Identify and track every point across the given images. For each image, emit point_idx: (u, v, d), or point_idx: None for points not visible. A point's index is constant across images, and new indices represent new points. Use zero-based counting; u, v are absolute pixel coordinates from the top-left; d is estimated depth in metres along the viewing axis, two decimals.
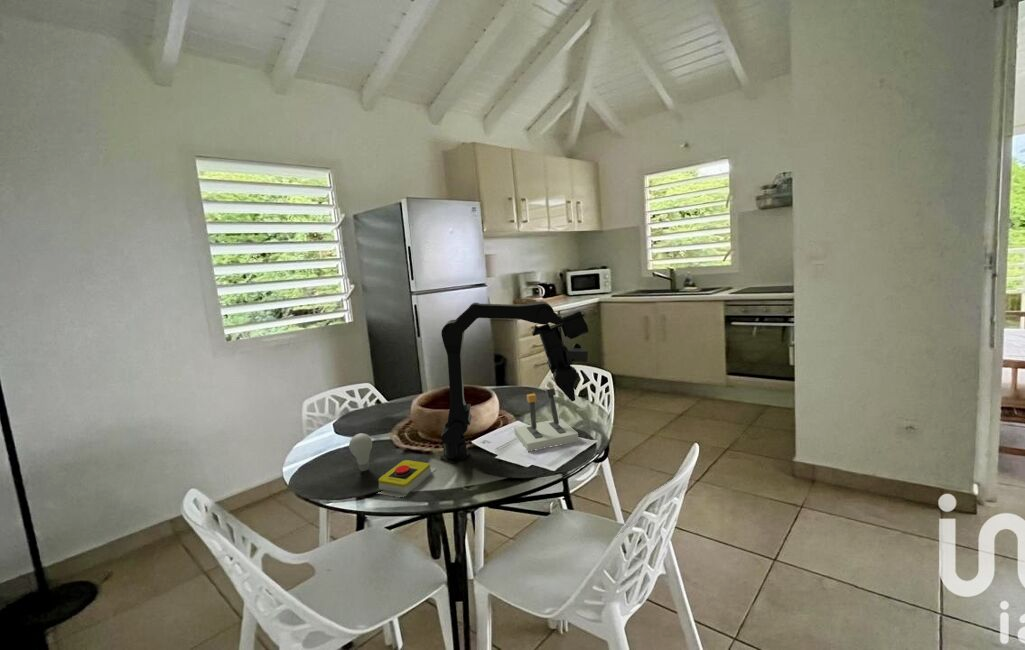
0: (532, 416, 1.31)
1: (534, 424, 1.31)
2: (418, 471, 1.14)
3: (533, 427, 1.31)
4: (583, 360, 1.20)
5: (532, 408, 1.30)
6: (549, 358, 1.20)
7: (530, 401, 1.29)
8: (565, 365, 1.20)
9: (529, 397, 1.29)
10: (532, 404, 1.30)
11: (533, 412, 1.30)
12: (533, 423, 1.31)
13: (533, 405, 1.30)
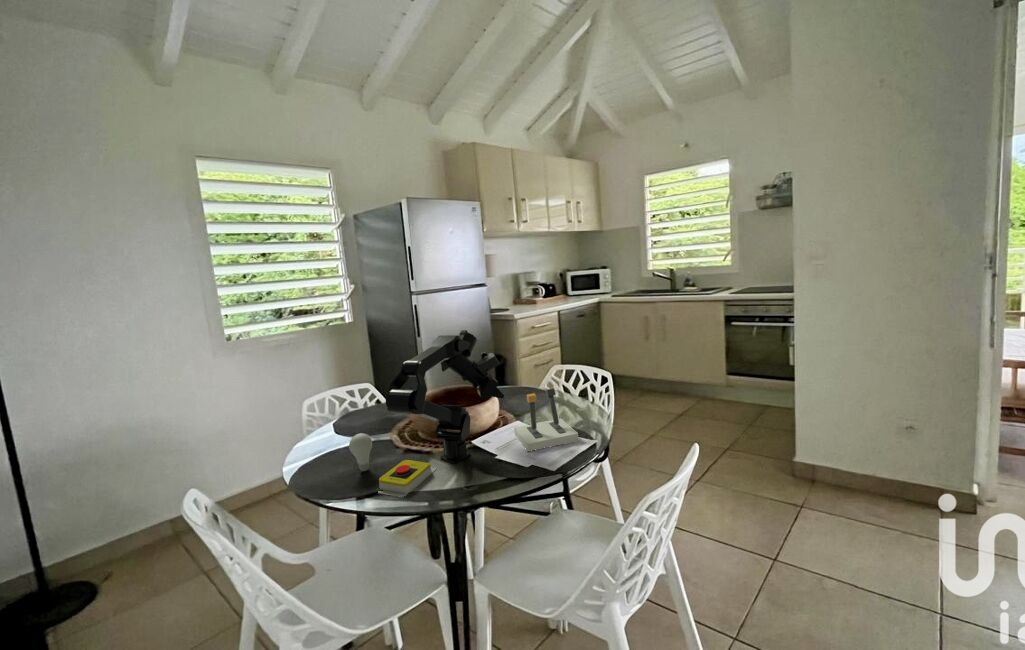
0: (532, 416, 1.31)
1: (534, 424, 1.31)
2: (419, 471, 1.14)
3: (533, 427, 1.31)
4: (495, 365, 1.29)
5: (532, 408, 1.30)
6: (467, 380, 1.28)
7: (530, 401, 1.29)
8: (483, 378, 1.28)
9: (529, 397, 1.29)
10: (532, 404, 1.30)
11: (533, 412, 1.30)
12: (533, 423, 1.31)
13: (533, 405, 1.30)
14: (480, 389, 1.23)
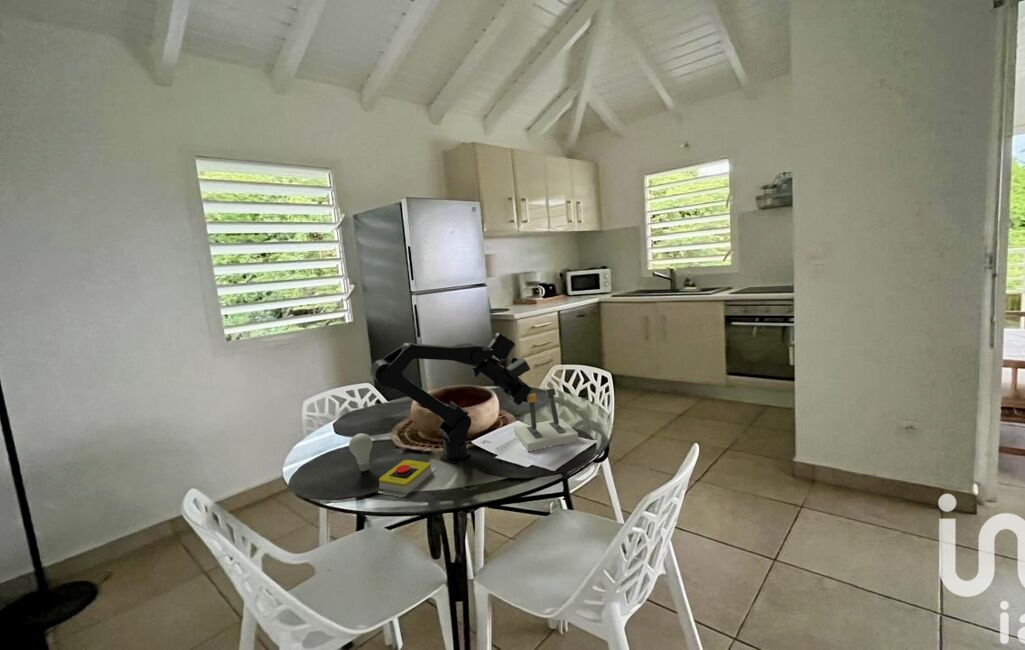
0: (532, 416, 1.30)
1: (534, 424, 1.31)
2: (419, 471, 1.14)
3: (533, 427, 1.31)
4: (526, 370, 1.29)
5: (532, 408, 1.30)
6: (498, 386, 1.28)
7: (530, 401, 1.29)
8: (515, 383, 1.29)
9: (529, 397, 1.29)
10: (532, 404, 1.30)
11: (533, 412, 1.30)
12: (533, 423, 1.31)
13: (533, 405, 1.30)
14: (513, 394, 1.24)
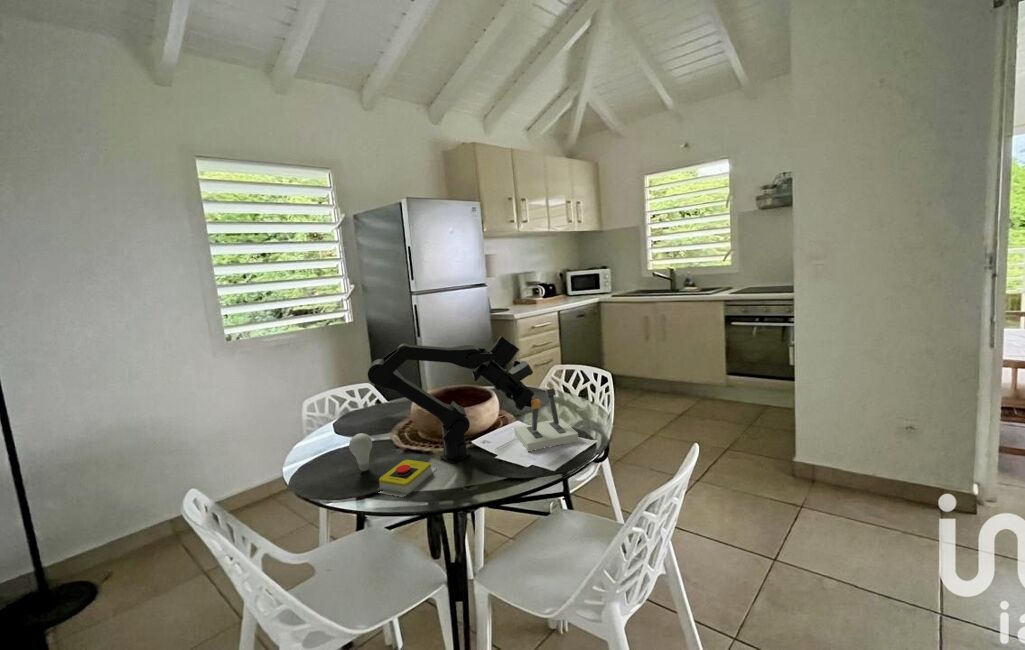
0: (534, 420, 1.29)
1: (535, 426, 1.30)
2: (419, 471, 1.14)
3: (534, 429, 1.31)
4: (529, 373, 1.26)
5: (535, 413, 1.28)
6: (500, 390, 1.25)
7: (534, 408, 1.26)
8: (517, 387, 1.25)
9: (533, 404, 1.26)
10: (536, 410, 1.27)
11: (536, 416, 1.28)
12: (534, 425, 1.30)
13: (536, 411, 1.27)
14: (515, 399, 1.20)
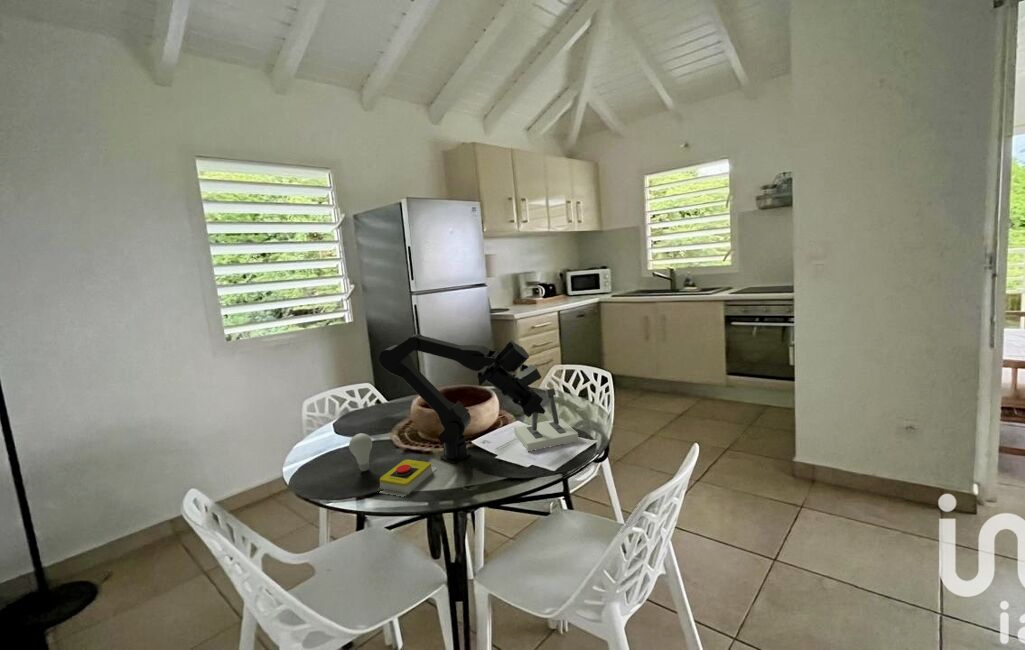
0: (534, 420, 1.29)
1: (535, 426, 1.30)
2: (419, 471, 1.14)
3: (534, 429, 1.31)
4: (537, 378, 1.20)
5: (535, 413, 1.28)
6: (507, 395, 1.19)
7: None
8: (525, 392, 1.19)
9: None
10: None
11: (535, 416, 1.28)
12: (534, 425, 1.30)
13: None
14: (523, 405, 1.14)
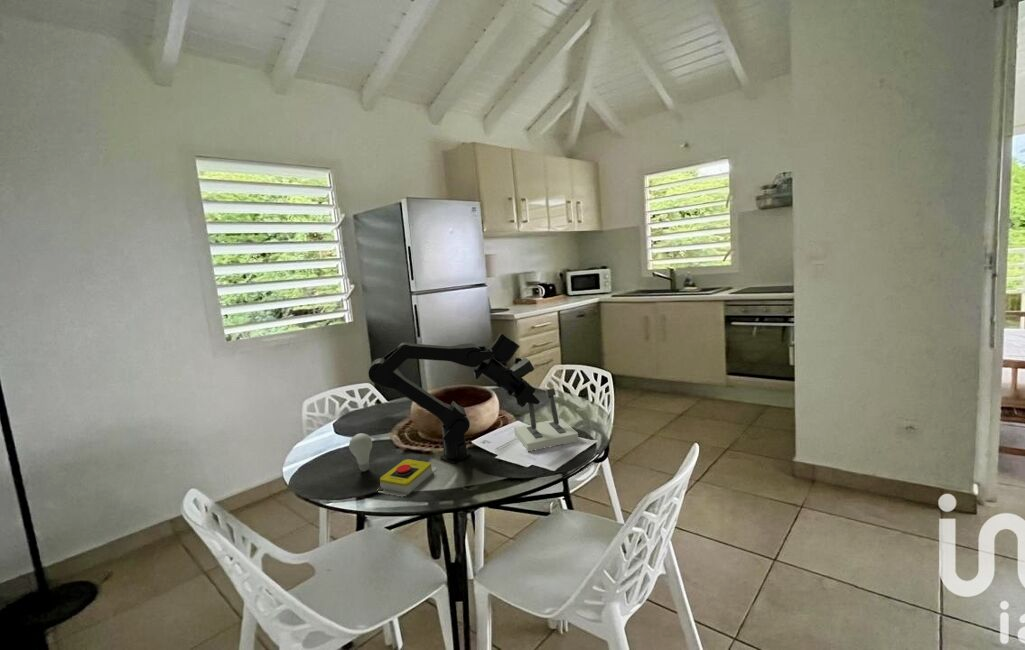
0: (531, 415, 1.31)
1: (534, 423, 1.31)
2: (419, 471, 1.14)
3: (533, 426, 1.31)
4: (530, 370, 1.25)
5: (531, 407, 1.31)
6: (502, 387, 1.25)
7: None
8: (518, 384, 1.25)
9: None
10: (531, 403, 1.31)
11: (532, 411, 1.31)
12: (533, 422, 1.31)
13: (532, 404, 1.31)
14: (516, 396, 1.20)
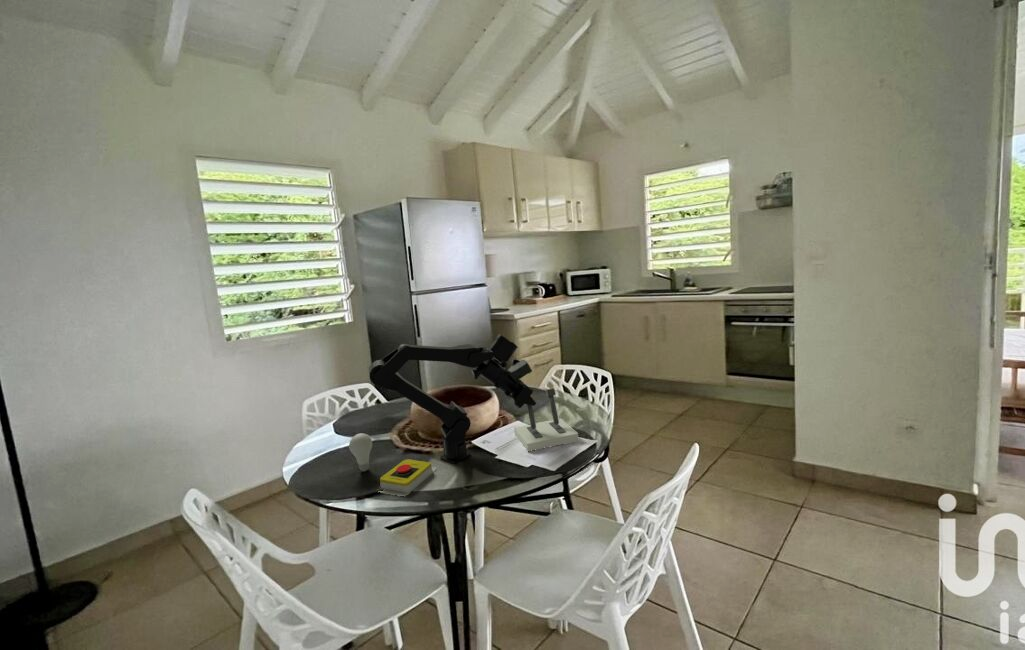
0: (530, 414, 1.32)
1: (533, 423, 1.32)
2: (420, 471, 1.14)
3: (532, 426, 1.32)
4: (528, 372, 1.27)
5: (529, 406, 1.33)
6: (499, 388, 1.26)
7: None
8: (516, 385, 1.26)
9: None
10: None
11: (531, 410, 1.32)
12: (532, 422, 1.32)
13: None
14: (514, 397, 1.21)
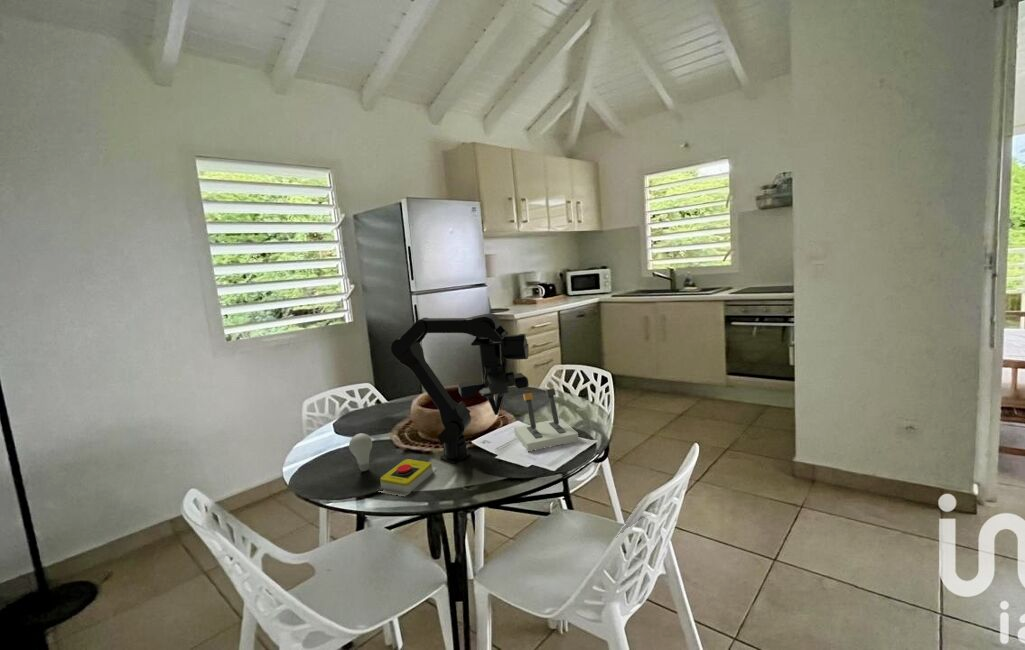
0: (530, 414, 1.32)
1: (533, 423, 1.32)
2: (420, 470, 1.14)
3: (532, 426, 1.32)
4: (490, 390, 1.13)
5: (529, 406, 1.33)
6: None
7: (526, 398, 1.33)
8: None
9: (525, 394, 1.33)
10: (529, 402, 1.33)
11: (531, 410, 1.32)
12: (532, 422, 1.32)
13: (530, 403, 1.33)
14: (464, 382, 1.19)
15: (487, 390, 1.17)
